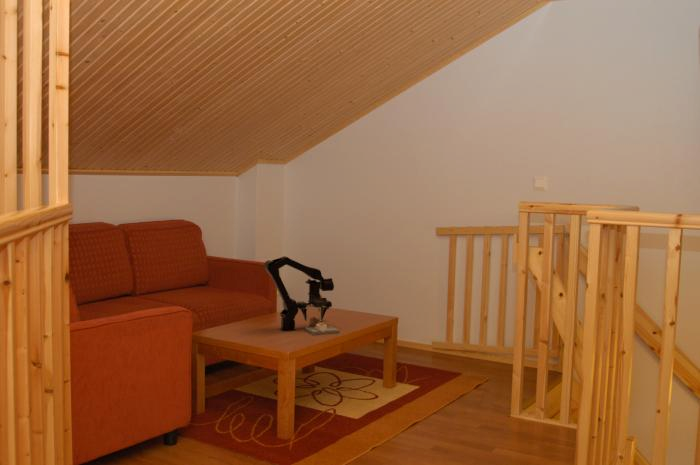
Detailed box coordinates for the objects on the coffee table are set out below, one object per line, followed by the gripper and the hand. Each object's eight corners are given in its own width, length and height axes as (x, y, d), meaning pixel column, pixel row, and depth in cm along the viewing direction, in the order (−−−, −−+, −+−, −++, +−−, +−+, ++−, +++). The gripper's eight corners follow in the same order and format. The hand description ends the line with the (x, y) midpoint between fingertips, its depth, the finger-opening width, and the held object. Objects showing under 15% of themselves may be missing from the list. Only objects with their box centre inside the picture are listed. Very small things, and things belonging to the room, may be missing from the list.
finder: (319, 330, 407) (319, 325, 406) (316, 328, 411) (316, 323, 411) (326, 330, 408) (326, 324, 408) (323, 328, 413) (323, 323, 412)
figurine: (330, 321, 440) (331, 295, 439) (326, 322, 437) (327, 296, 435) (313, 319, 446) (313, 293, 444) (309, 320, 442) (310, 294, 441)
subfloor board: (313, 335, 404) (313, 331, 404) (304, 330, 415) (304, 327, 415) (339, 333, 410) (339, 330, 410) (331, 328, 421) (331, 325, 421)
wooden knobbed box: (311, 328, 420) (312, 317, 420) (309, 327, 423) (309, 316, 423) (318, 328, 422) (318, 317, 421) (315, 326, 425) (315, 316, 424)
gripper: (303, 294, 410) (302, 324, 411) (336, 293, 417) (335, 322, 419) (296, 291, 420) (295, 320, 421) (328, 289, 427) (327, 318, 429)
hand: (313, 320), depth 422 cm, fingers open, 9 cm apart
